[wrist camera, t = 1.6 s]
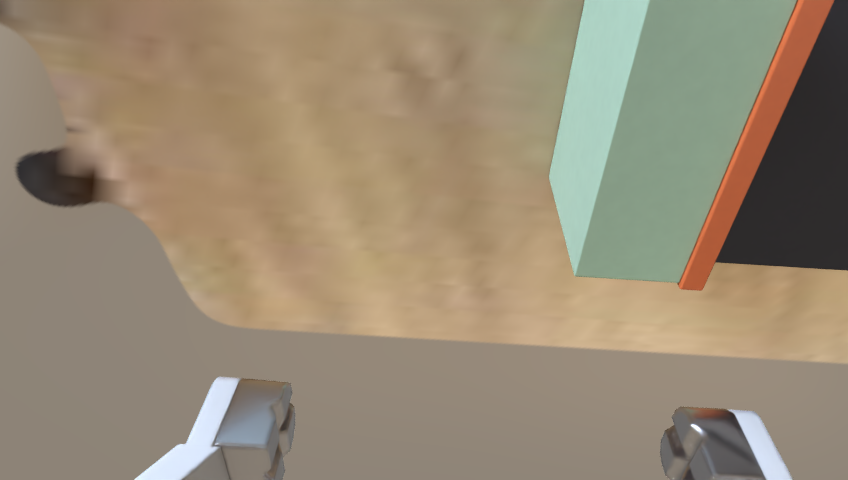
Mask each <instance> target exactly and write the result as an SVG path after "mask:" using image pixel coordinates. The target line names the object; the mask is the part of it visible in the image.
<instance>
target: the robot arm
mask: <svg viewBox="0 0 848 480" xmlns="http://www.w3.org/2000/svg"><path fill="white" fill-rule="evenodd" d="M291 396H292V388H291V383H288V382H277V381H266V380H255V379H244V378H231V377H217V379H216V380H215V381H214V382H213V383H212V386H211V388H210V390H209V392H208V395H207V397H206V399H205V402H204V404H203V406H202V408H201V411H200V413H199V415H198V418H197V420H196V422H195V424H194V427H193V429H192V431H191V433H190V436H189V438H188V440H187V443H186V444H178V445H177V446H176V447H174V448H173V449H172V450H171V451H169V452H168V453H167V454H166V455H164V456H163V457H162V458H161V459H159V460H158V461H157V462H156V463H154V464H153V465H152V466H151V467H149V468H148V469H147V470H146V471H144V472H143V473H142V474H141V475H139V476H138V477H137V478H136V479H135V480H282V479H283V476H284V472H285V469H284V462H283V457H284V456H285V455H286V454H287V453H288V452H289V451H290V449H291V445H292V441H293V436H294V429H295V408H294V406H293V405H292V404H291V403H290V399H291ZM672 419H673V422H674V426H672V427H670V428H669V429H667V430H665V432H664V435H663V437H662V439H661V449H660V455H661V461H662V466H663V469H664V472H665V475H666V476H667V477H668V478H669V479H670V480H793V478H792V476H791V474H790V473H789V471H788V469H787V467H786V465H785V463H784V462H783V459H782V458H781V456H780V454H779V452H778V450H777V448H776V446H775V444H774V443H773V441H772V439H771V437H770V435H769V433H768V431H767V429H766V428H765V426H764V424H763V422H762V420H761V418H760V417H759V415H758V414H757V413H755V412H754V411H741V410H727V409H718V408H698V407H679V408H678V409H676V410H675V412H674V414H673V416H672Z"/></svg>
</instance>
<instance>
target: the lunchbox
mask: <svg viewBox="0 0 848 480" xmlns="http://www.w3.org/2000/svg"><path fill="white" fill-rule="evenodd" d="M833 3H834V0H585V2H584V7H583V12H582V17H581V22H580V27H579V32H578V37H577V41H576V46H575V51H574V56H573V61H572V66H571V71H570V76H569V81H568V86H567V91H566V95H565V100H564V105H563V110H562V115H561V120H560V125H559V130H558V135H557V140H556V144H555V149H554V154H553V159H552V164H551V169H550V174H549V180H550V183H551V187H552V191H553V195H554V199H555V203H556V207H557V210H558V214H559V218H560V222H561V226H562V230H563V233H564V237H565V241H566V245H567V249H568V253H569V257H570V260H571V264H572V268H573V272H574V276H578V277H594V278H610V279H626V280H643V281H659V282H675V283H678V285H679V287H680V289H686V290H703V288H704V285H705V283H706V281H707V279H708V277H709V274H710V272H711V270H712V268H713V266H714V263H715V261H716V259H717V257H718V255H719V253H720V250H721V248H722V246H723V244H724V242H725V239H726V237H727V235H728V233H729V231H730V228H731V226H732V224H733V222H734V220H735V217H736V215H737V213H738V211H739V209H740V206H741V204H742V202H743V200H744V198H745V196H746V193H747V191H748V189H749V187H750V185H751V182H752V180H753V178H754V176H755V174H756V171H757V169H758V167H759V165H760V163H761V160H762V158H763V156H764V154H765V152H766V149H767V147H768V145H769V143H770V141H771V138H772V136H773V134H774V132H775V130H776V128H777V125H778V123H779V121H780V119H781V117H782V114H783V112H784V110H785V108H786V106H787V103H788V101H789V99H790V97H791V95H792V92H793V90H794V88H795V86H796V84H797V81H798V79H799V77H800V75H801V73H802V71H803V68H804V66H805V64H806V62H807V60H808V57H809V55H810V53H811V51H812V49H813V46H814V44H815V42H816V40H817V38H818V35H819V33H820V31H821V29H822V27H823V24H824V22H825V20H826V18H827V16H828V14H829V11H830V9H831V7H832V5H833Z"/></svg>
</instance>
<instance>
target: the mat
mask: <svg viewBox="0 0 848 480" xmlns="http://www.w3.org/2000/svg"><path fill="white" fill-rule="evenodd" d="M715 262H720V263H736V264H752V265H769V266H785V267H801V268H818V269H834V270H848V0H834V3H833V5H832V7H831V9H830V11H829V14H828V16H827V18H826V20H825V22H824V24H823V27H822V29H821V31H820V33H819V35H818V38H817V40H816V42H815V44H814V46H813V49H812V51H811V53H810V55H809V57H808V60H807V62H806V64H805V66H804V68H803V71H802V73H801V75H800V77H799V79H798V81H797V84H796V86H795V88H794V90H793V92H792V95H791V97H790V99H789V101H788V103H787V106H786V108H785V110H784V112H783V114H782V117H781V119H780V121H779V123H778V125H777V128H776V130H775V132H774V134H773V136H772V138H771V141H770V143H769V145H768V147H767V149H766V152H765V154H764V156H763V158H762V160H761V163H760V165H759V167H758V169H757V171H756V174H755V176H754V178H753V180H752V182H751V185H750V187H749V189H748V191H747V193H746V196H745V198H744V200H743V202H742V204H741V206H740V209H739V211H738V213H737V215H736V217H735V220H734V222H733V224H732V226H731V228H730V231H729V233H728V235H727V237H726V239H725V242H724V244H723V246H722V248H721V250H720V253H719V255H718V257H717V259H716V261H715Z"/></svg>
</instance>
